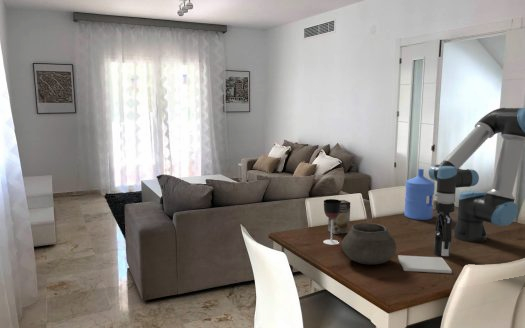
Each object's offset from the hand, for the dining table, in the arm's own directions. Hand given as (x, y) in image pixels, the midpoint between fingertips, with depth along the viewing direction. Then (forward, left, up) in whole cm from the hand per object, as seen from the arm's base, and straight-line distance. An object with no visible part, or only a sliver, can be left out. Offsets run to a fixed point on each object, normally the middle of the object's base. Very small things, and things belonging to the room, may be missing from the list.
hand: (441, 251), depth 187 cm
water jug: (-3, -63, -1) cm, 63 cm away
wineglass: (+48, -9, -1) cm, 49 cm away
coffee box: (+44, -26, -1) cm, 51 cm away
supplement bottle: (0, 0, -1) cm, 1 cm away
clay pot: (+33, +14, -1) cm, 36 cm away
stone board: (+11, +15, -1) cm, 19 cm away
